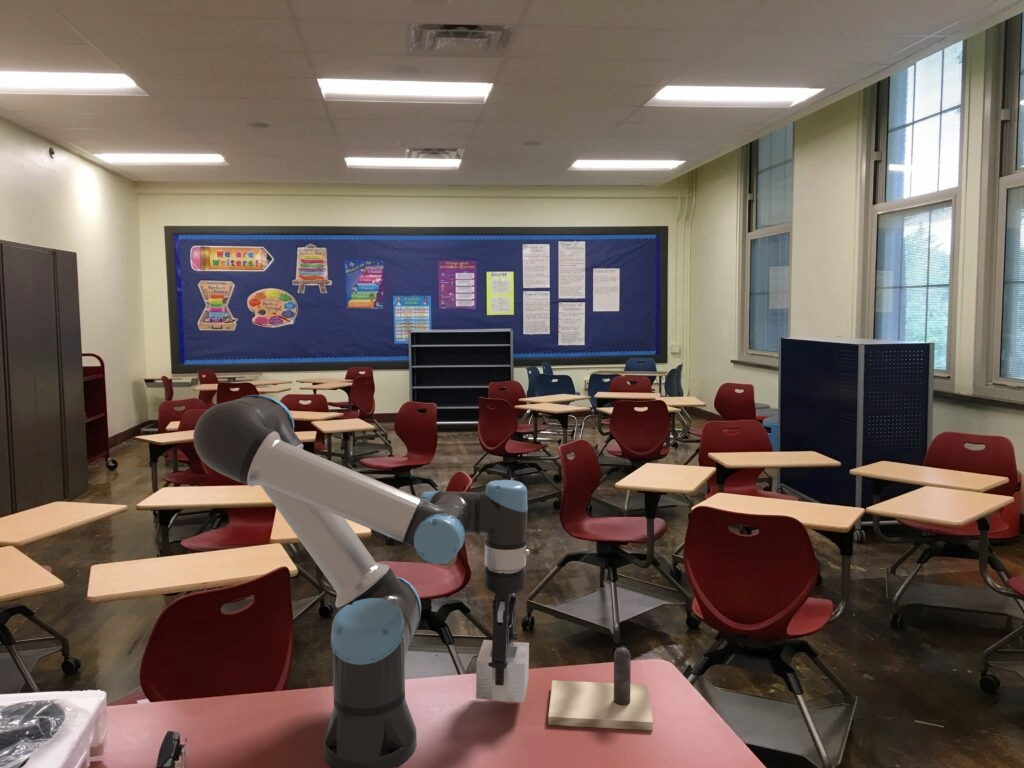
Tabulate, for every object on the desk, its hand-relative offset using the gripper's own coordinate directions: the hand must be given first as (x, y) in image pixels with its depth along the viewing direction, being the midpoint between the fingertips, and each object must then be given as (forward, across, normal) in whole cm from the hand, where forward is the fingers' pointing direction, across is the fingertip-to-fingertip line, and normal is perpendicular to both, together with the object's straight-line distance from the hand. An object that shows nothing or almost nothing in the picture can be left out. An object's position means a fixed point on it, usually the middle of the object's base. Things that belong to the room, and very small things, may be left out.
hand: (503, 686), depth 132 cm
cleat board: (+3, +1, -18) cm, 18 cm away
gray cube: (0, 0, 0) cm, 0 cm away
